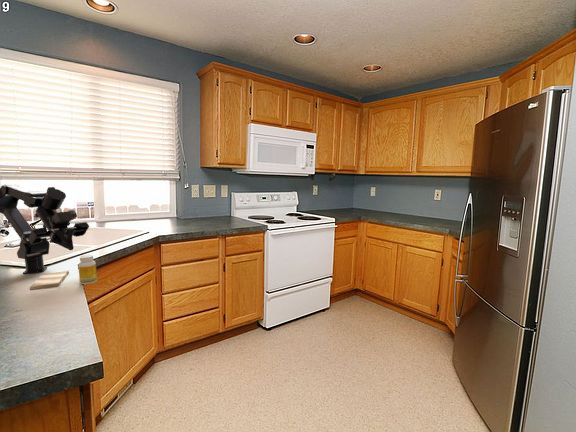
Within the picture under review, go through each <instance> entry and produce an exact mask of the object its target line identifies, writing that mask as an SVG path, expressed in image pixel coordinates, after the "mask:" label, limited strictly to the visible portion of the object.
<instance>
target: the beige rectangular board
mask: <svg viewBox="0 0 576 432" xmlns="http://www.w3.org/2000/svg"><path fill="white" fill-rule="evenodd" d="M69 273H70V271H69V270H64V271H63V270H60V271H52V272H44V273H42V274H41V275H40V276H39V277H38V278H37V279H36V280H34V282H33V283H31V285H30V286H29V290H37V289H45V288H52V287H59V286H60V285H61V284H62V282H63V281H64V280H65V279H66V277H67V276H68V275H69Z"/></svg>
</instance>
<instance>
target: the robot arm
mask: <svg viewBox="0 0 576 432" xmlns="http://www.w3.org/2000/svg"><path fill="white" fill-rule="evenodd" d="M66 197H67V194H66V193H65V192H63V191H62V190H60V189H59V188H58V189H57V188H56V187H55V186H52V187H51V186H50V187H49V186H48V187H47V189H46V191H34V190H31V189H27V188H25V187H23V186H20V185H18V184H13V183H12V184H4V185H1V186H0V214H2V215H4V217H5V219H6V220H7V221H8V223H9V224H10V226H11V228H12V229H13V230H14V231H15V233H16V234H17V235H18V237H19V239H20V242H19V248H18V250H17V252H16V255H17V258H18V259H21V260H24V263H25V264H24V265H25V270H24V271H23V272H22V274H23V275H24V274H25V275H26V274H33V273H34V274H35V273H43V272H44V271H46V270H47V268H48V266H45V265H44V256H45V255H49V253H50V244H55V245H59V246H61V247H62V248H65V249H67V250H69V251H73V250H74V242H73V236H74V237H77V238H78V237H81V236H84V235H85V234H86V233H87V231H88V229H89V227H90V225H89V223H88V222H87V221H81V222H75V223H74V225H73V226H70V225H71V223H70V222H71V221H73V220H75V219H77V218H78V213H77V212H76V211H75V210H74V209H69V210H67V211H59V212H58V211H57V210H59V209H61V206H62V205H63V203H64V201H65V199H66ZM19 200H21V201H23V204H24V205H25V206H26V207H28V208H30V209H32V208H36V210H35V214H34V217H35V218H39V219H40V220H41V222H42V223H43V224H42V227H38V228H32V227H31V225H30V224H29V222H28V220H26V218H25V217H24V216H23V214H22V212H21V211H20V210H19V209H18V203H19ZM69 226H70V227H69ZM47 238H50V240H48V239H47Z"/></svg>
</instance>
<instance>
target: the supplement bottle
mask: <svg viewBox="0 0 576 432" xmlns="http://www.w3.org/2000/svg"><path fill="white" fill-rule="evenodd" d="M79 261H80V262H79V263H78V264H77V266H78V267H77V268H78V269H77V270H78V278H79V284H81V285H90V284H94V283H96V282H97V281H98V274H97V273H98V272H97V263H96V261H95V260H94V255H92V254H87V255H86V254H85V255H81V256H80V257H79Z"/></svg>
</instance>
